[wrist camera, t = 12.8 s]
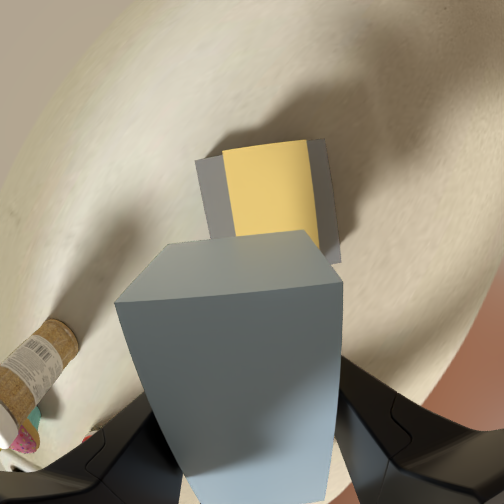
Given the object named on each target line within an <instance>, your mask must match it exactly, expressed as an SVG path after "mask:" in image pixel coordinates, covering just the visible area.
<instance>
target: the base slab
mask: <svg viewBox="0 0 504 504" xmlns="http://www.w3.org/2000/svg"><path fill="white" fill-rule="evenodd" d="M306 142H307V148H308V155H309V162H310V170H311V177H312V185H313V193H314V201H315V210H316V219H317V229H318V239H319V249H320V251H321V253H322V254H323V255H324V257H325V258H326V259H327V261H328V262H329V263H330V265H331V264H336V263H341V253H340V243H339V234H338V225H337V217H336V209H335V202H334V194H333V187H332V181H331V174H330V168H329V162H328V156H327V150H326V144H325V139H317V140H309V141H306ZM195 165H196V170H197V175H198V180H199V185H200V190H201V195H202V200H203V205H204V210H205V214H206V219H207V224H208V229H209V233H210V238H211V239H218V238H227V237H236V233H235V227H234V221H233V215H232V209H231V203H230V196H229V190H228V184H227V178H226V171H225V165H224V159H223V155H219V156H214V157H209V158H205V159H200V160H196V161H195Z"/></svg>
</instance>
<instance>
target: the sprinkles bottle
mask: <svg viewBox="0 0 504 504" xmlns="http://www.w3.org/2000/svg"><path fill="white" fill-rule="evenodd" d="M77 353H78V343H77V340H76V338H75V336H74V334H73V332H72V331H71V330H70V329H69V328H68V327H67V326H66V325H65V324H63V323H62V322H60V321H58V320H55V319H49V320H46V321H45V322H44V323H43V324H42V326H41V327H40V328H39V329H38V330H37V331H35V332H34V333H33V334H32V335H31V336H30V337H29V338H28V339H27V340H25V341H24V342H23V343H22V344H21V345H20V346H19V347H17V348H16V349H15V350H14V351H13V352H12V353H11V354H10V355H9V356H8V357H7V359H5V360H4V361H3V362H2V363H1V364H0V448H2V449H7V448H9V447H10V445H11V444H12V443H13V441H14V440H15V438H16V437H17V435H18V431H19V429H20V427H21V425H22V424H23V422H24V421H25V420H26V418H27V417H28V415H29V414H30V413H31V411H32V410H33V409H34V408H35V407H36V406H37V404H38V403H39V402H40V400H41V399H42V398H43V396H44V395H45V394H46V392H47V391H48V390H49V388H50V387H51V386H52V385H53V383H54V382H55V381H56V380H57V378H58V377H59V376H60V374H61V373H62V371H63V369H64V368H65V367H66V366H67V364H68V363H69V362H70V361H71V360H72V359H73V358H75V356H76V355H77Z"/></svg>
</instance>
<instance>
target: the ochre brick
mask: <svg viewBox="0 0 504 504" xmlns="http://www.w3.org/2000/svg"><path fill="white" fill-rule="evenodd" d="M222 153H223V159H224V165H225V171H226V178H227V184H228V190H229V196H230V203H231V209H232V215H233V221H234V227H235V233H236V236H246V235H255V234H265V233H274V232H284V231H294V230H305V232H306V233H307V234H308V236H309V237H310V238H311V239H312V241H313V242H314V243H315V245H316V246H317V247H318V249H319V239H318V229H317V219H316V210H315V201H314V193H313V185H312V177H311V170H310V162H309V155H308V148H307V142H306V140H297V141H288V142H279V143H271V144H264V145H257V146H250V147H243V148H237V149H230V150H224V151H222ZM319 250H320V249H319Z"/></svg>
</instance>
